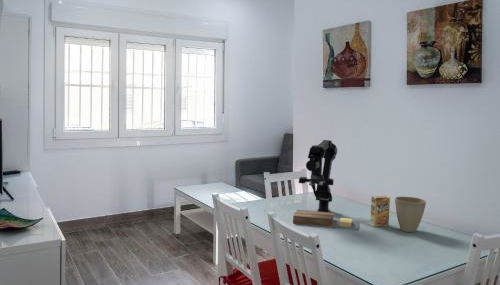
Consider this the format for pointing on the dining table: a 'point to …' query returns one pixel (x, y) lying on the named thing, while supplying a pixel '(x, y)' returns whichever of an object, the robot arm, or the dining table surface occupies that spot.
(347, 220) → the yellow rectangular block
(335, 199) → the dining table surface
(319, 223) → the brown wooden flat block
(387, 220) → the candy box
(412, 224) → the plant pot
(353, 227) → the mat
